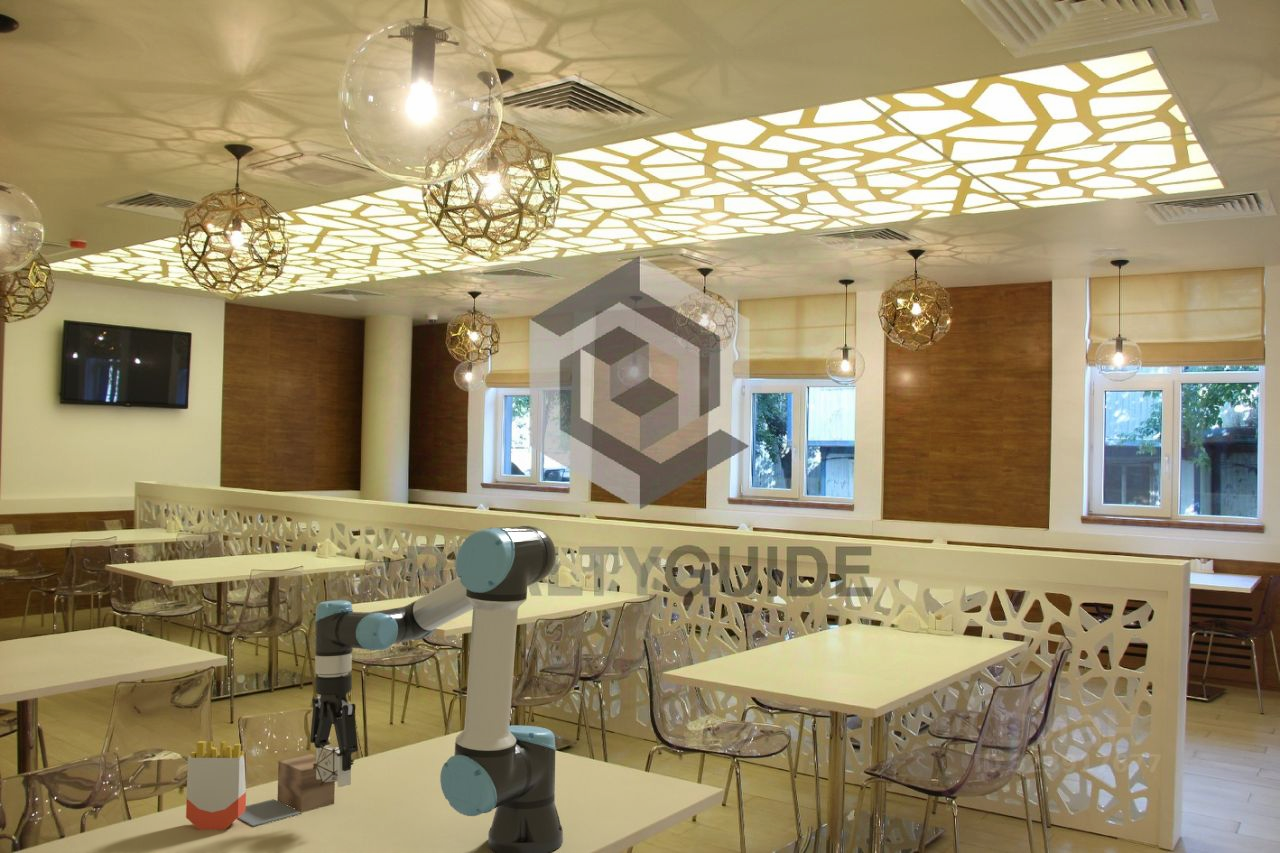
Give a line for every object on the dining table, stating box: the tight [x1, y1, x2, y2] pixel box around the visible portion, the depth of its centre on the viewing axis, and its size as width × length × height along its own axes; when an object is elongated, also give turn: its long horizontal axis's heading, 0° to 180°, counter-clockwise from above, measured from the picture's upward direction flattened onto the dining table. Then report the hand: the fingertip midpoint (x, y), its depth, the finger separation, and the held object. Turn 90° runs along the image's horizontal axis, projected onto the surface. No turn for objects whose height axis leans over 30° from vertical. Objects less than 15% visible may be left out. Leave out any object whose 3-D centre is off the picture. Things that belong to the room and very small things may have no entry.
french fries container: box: [185, 740, 247, 830], centre depth 207 cm, size 5×11×18 cm, turn 91°
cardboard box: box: [277, 753, 336, 813], centre depth 222 cm, size 11×8×9 cm
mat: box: [237, 798, 303, 828], centre depth 214 cm, size 13×11×1 cm
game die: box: [313, 745, 355, 786], centre depth 208 cm, size 9×8×10 cm
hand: (333, 781), depth 208 cm, fingers closed on game die, 8 cm apart
